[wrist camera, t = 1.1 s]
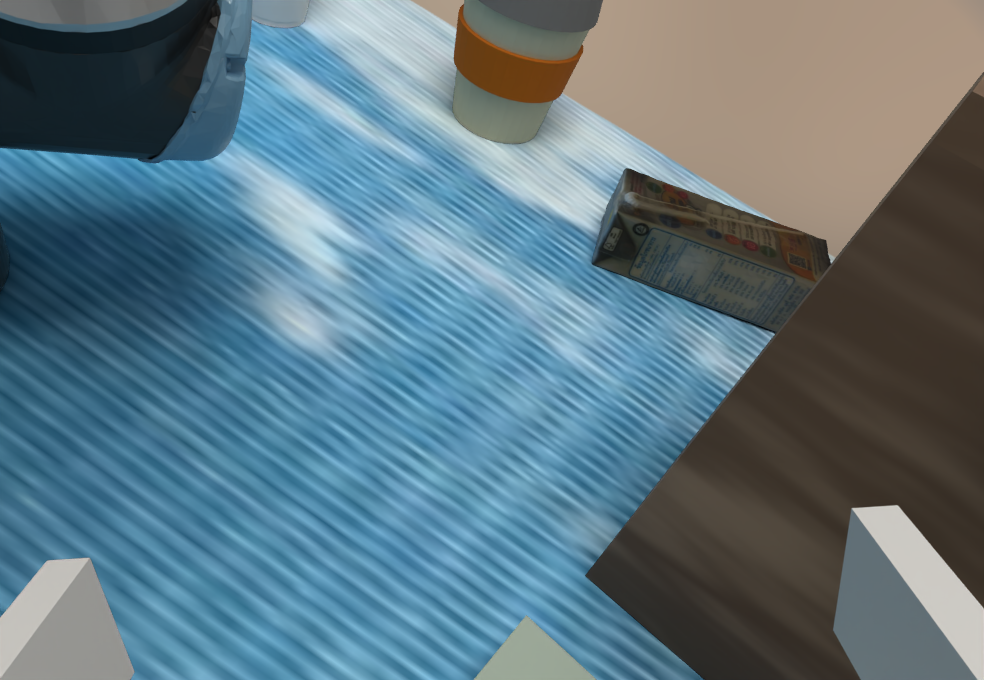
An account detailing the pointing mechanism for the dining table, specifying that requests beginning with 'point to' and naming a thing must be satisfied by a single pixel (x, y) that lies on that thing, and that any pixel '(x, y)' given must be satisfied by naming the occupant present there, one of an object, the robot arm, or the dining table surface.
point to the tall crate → (829, 439)
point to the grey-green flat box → (532, 658)
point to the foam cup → (280, 12)
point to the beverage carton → (707, 251)
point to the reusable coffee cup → (516, 62)
